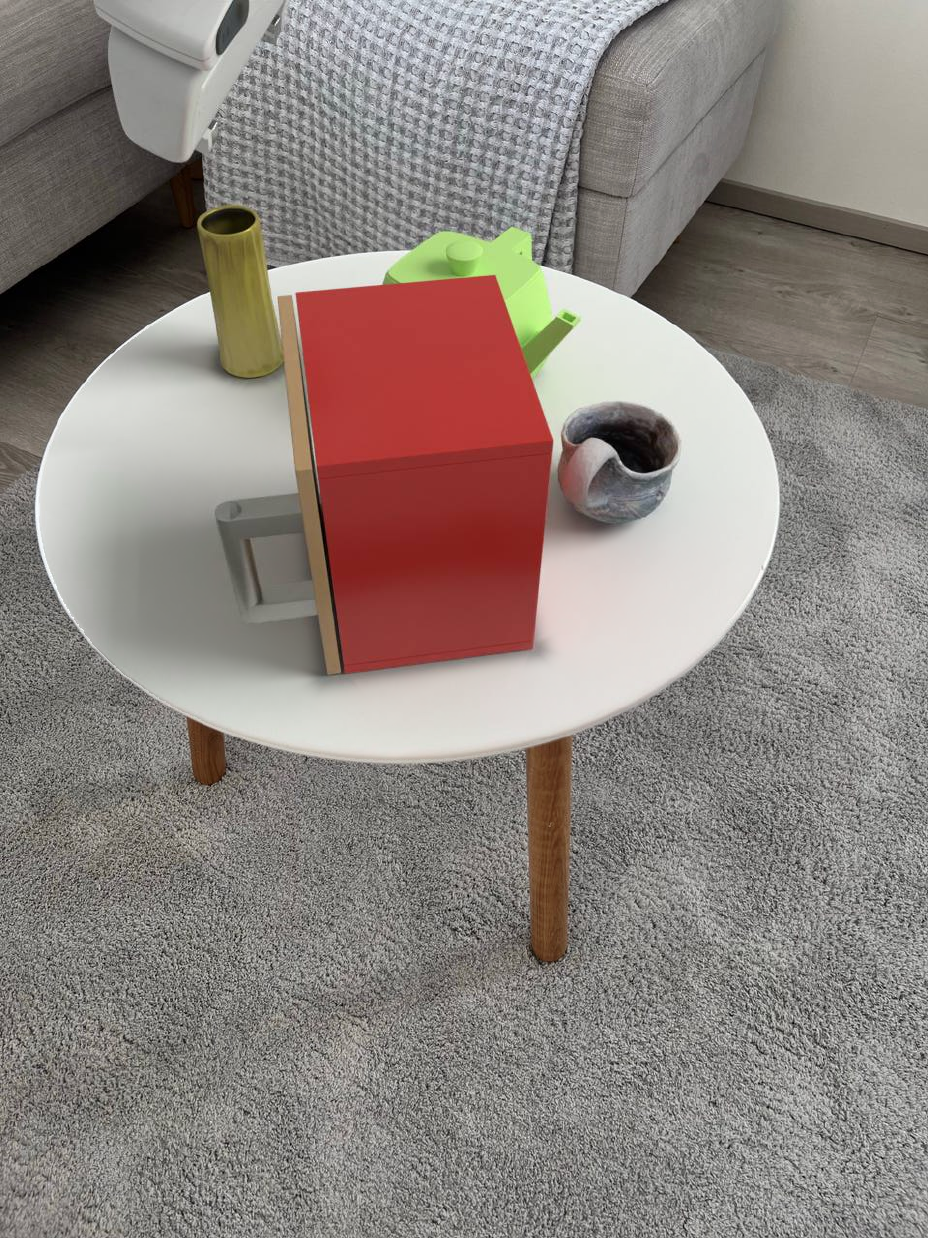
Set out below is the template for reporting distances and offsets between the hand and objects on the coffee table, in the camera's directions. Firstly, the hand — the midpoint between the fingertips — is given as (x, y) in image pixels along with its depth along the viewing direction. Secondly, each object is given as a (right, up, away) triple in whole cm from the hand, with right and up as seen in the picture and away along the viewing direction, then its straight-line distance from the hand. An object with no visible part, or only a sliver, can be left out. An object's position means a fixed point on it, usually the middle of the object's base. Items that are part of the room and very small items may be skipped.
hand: (235, 85), depth 66 cm
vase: (-5, -10, +32) cm, 34 cm away
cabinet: (+12, -31, +14) cm, 36 cm away
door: (+1, -32, +13) cm, 35 cm away
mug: (+27, -26, +19) cm, 42 cm away
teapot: (+16, -13, +30) cm, 36 cm away
